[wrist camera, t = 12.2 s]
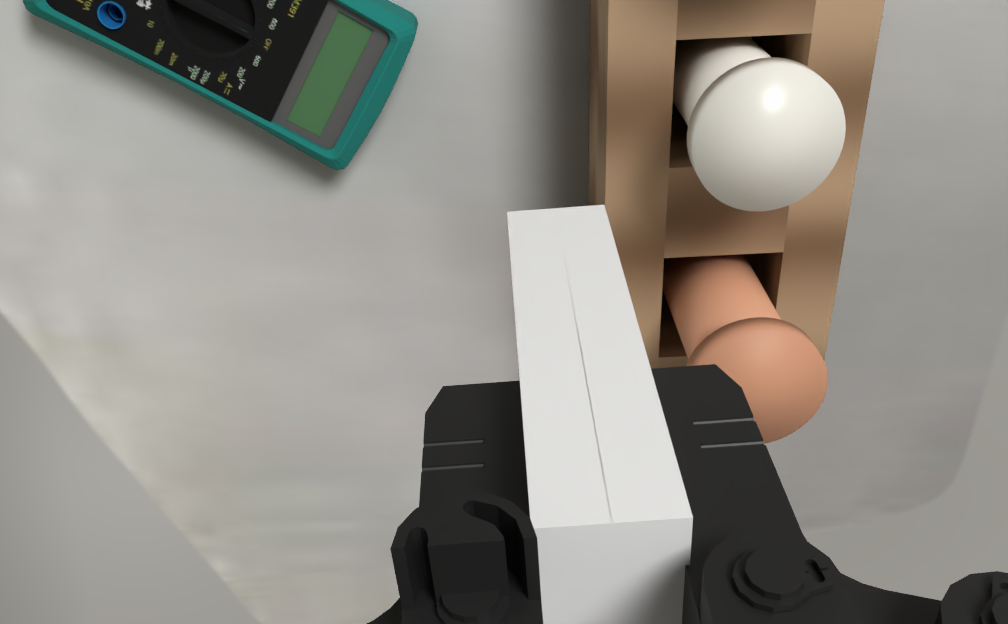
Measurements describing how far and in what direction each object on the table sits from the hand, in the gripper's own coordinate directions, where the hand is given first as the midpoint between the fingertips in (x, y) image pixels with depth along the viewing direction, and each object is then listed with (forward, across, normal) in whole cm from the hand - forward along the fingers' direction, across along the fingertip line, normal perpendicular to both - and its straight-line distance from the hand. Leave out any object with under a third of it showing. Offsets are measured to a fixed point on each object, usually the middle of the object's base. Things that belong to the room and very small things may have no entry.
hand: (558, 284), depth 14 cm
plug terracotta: (+23, +8, -14) cm, 28 cm away
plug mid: (+25, +8, -5) cm, 27 cm away
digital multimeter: (+27, -12, -2) cm, 30 cm away
